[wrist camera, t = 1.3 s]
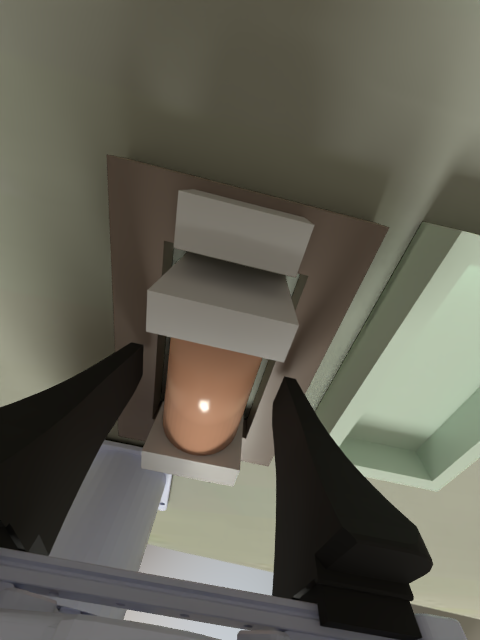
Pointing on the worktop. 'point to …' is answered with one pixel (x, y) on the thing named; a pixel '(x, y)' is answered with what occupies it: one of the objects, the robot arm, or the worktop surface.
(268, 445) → the frame
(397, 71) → the worktop surface
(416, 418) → the parts tray
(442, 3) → the worktop surface
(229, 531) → the worktop surface
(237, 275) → the fuse
